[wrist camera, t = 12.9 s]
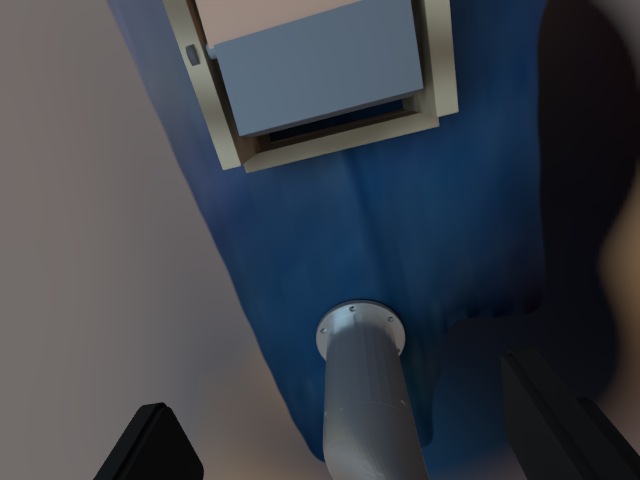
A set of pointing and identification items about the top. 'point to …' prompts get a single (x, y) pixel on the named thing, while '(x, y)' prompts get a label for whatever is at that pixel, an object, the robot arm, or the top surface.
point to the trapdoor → (310, 57)
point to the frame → (262, 153)
